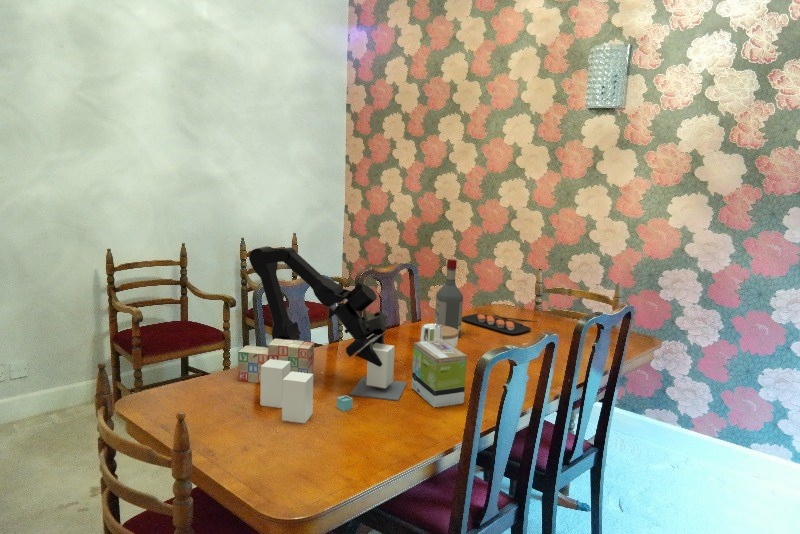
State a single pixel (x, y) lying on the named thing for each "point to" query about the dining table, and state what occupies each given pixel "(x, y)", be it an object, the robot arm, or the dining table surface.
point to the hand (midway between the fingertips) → (385, 362)
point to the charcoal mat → (379, 390)
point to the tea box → (439, 373)
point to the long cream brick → (273, 382)
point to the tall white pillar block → (297, 397)
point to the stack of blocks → (275, 358)
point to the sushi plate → (498, 323)
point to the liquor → (449, 300)
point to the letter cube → (344, 403)
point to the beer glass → (431, 332)
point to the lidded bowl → (450, 335)
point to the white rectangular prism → (385, 372)
